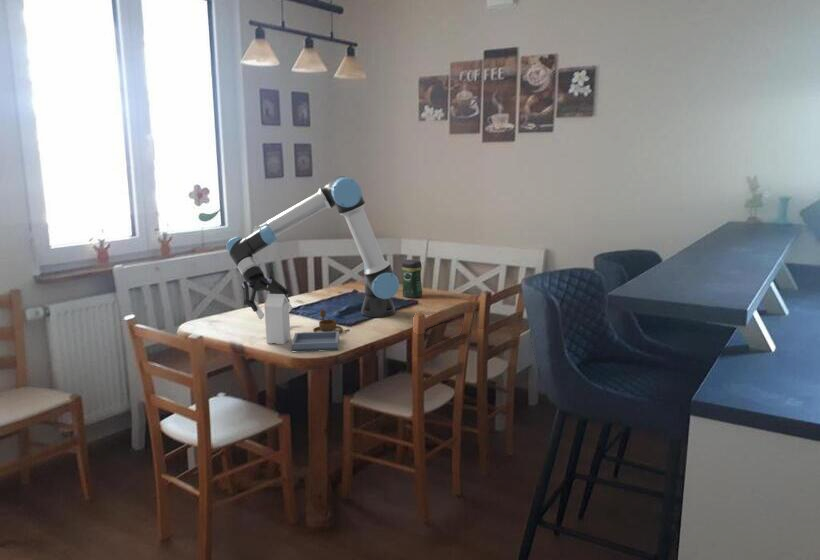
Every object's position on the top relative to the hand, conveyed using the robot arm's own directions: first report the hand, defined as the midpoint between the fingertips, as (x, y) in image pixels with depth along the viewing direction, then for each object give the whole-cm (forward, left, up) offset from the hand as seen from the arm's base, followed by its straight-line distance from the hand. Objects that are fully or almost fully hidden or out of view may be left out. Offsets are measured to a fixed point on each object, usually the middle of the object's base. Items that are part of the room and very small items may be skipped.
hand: (276, 313), depth 250 cm
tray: (-15, +6, -11) cm, 20 cm away
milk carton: (0, -1, -12) cm, 12 cm away
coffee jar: (-58, -70, -12) cm, 91 cm away
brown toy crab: (-20, -15, -12) cm, 28 cm away
